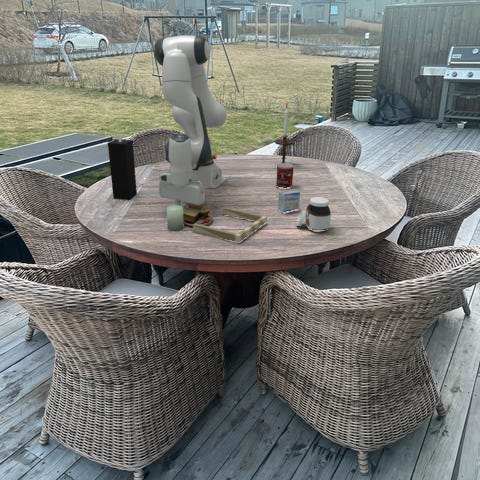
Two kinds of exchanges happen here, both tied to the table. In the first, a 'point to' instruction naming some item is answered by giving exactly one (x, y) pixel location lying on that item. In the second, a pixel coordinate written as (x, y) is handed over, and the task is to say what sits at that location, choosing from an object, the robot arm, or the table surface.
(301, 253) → the table surface
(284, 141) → the candlestick
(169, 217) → the sage green rounded piece
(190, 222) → the toy sandwich meal
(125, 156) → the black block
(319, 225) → the spread jar
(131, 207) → the table surface
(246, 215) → the frame
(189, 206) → the peach rounded cylinder
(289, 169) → the canned food
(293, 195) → the medicine box
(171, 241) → the table surface
